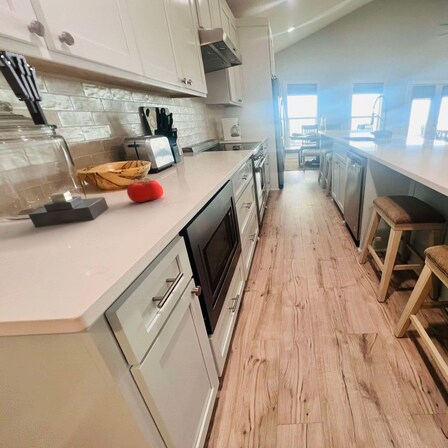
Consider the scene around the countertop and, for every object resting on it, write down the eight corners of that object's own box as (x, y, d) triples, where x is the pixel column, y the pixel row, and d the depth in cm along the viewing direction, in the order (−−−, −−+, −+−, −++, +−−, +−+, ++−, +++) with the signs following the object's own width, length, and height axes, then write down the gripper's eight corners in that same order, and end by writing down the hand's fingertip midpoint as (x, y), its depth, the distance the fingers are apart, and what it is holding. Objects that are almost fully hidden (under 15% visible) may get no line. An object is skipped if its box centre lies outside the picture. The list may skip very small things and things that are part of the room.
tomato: (167, 199, 86) (162, 181, 84) (131, 206, 80) (125, 187, 78) (162, 193, 94) (157, 177, 91) (129, 200, 88) (123, 182, 85)
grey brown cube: (53, 204, 68) (49, 195, 67) (60, 200, 71) (56, 192, 70) (67, 202, 69) (63, 194, 68) (73, 199, 71) (69, 191, 70)
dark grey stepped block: (35, 227, 67) (24, 207, 65) (58, 214, 77) (49, 196, 74) (94, 219, 71) (85, 200, 68) (108, 208, 80) (101, 190, 78)
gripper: (-1, 24, 61) (43, 124, 71) (33, 39, 72) (67, 124, 82) (-40, 22, 59) (11, 125, 69) (1, 38, 70) (40, 125, 80)
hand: (41, 124), depth 75 cm, fingers closed
